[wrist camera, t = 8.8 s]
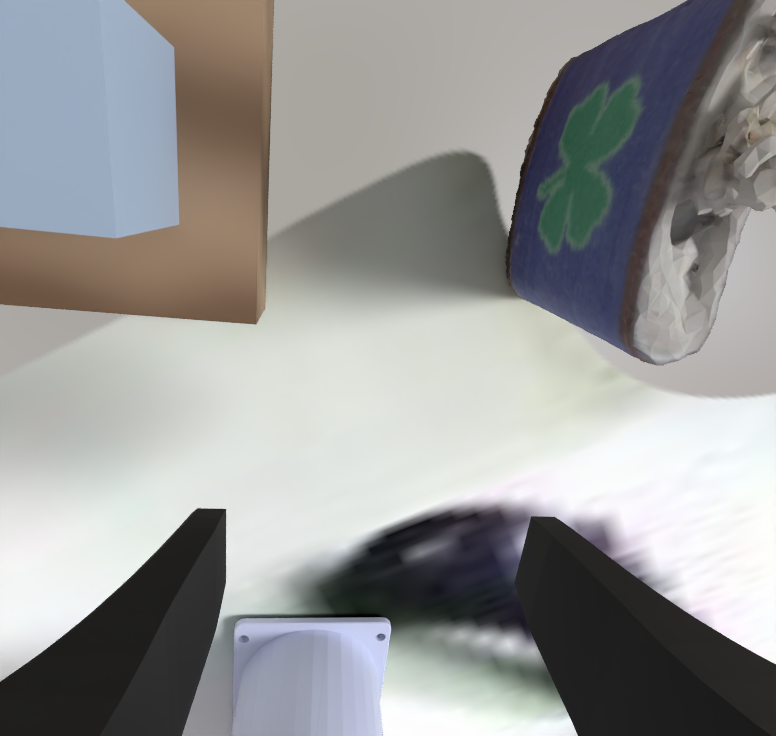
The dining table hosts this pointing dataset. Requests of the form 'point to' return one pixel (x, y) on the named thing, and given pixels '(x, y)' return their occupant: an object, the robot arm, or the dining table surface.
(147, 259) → the walnut base
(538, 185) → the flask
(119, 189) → the slate cube
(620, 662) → the robot arm
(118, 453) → the dining table surface
